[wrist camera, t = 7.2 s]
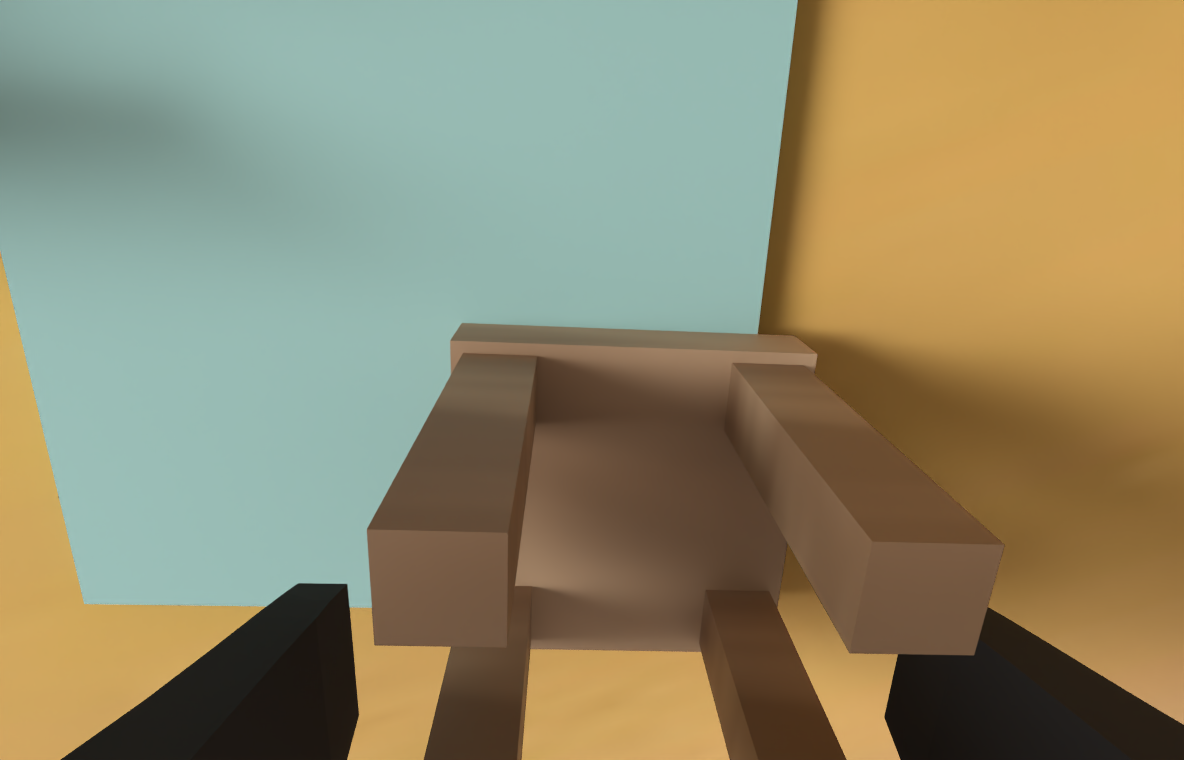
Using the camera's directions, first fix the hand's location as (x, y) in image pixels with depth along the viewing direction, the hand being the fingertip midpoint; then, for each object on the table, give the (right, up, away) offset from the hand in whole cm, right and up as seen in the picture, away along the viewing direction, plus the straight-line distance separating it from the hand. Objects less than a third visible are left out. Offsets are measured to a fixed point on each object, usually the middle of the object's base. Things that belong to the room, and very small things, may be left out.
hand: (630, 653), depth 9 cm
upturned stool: (0, +2, +4) cm, 5 cm away
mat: (-4, +6, +3) cm, 8 cm away
